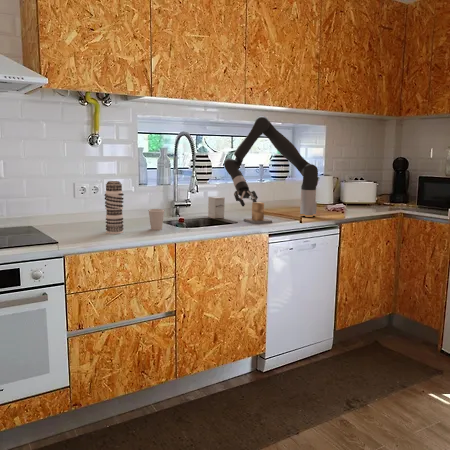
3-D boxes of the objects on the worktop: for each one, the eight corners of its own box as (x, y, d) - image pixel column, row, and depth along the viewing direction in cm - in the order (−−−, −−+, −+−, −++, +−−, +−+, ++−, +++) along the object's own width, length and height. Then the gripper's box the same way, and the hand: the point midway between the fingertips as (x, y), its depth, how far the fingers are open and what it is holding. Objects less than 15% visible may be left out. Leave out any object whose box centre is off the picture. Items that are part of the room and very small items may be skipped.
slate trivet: (260, 219, 280) (261, 217, 280) (272, 222, 269) (272, 220, 269) (243, 220, 274) (243, 218, 274) (254, 223, 264) (254, 221, 263)
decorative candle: (119, 230, 235) (118, 180, 232) (127, 232, 228) (126, 181, 224) (102, 231, 230) (101, 180, 226) (109, 234, 223) (108, 182, 219)
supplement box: (214, 218, 280) (214, 197, 278) (207, 217, 286) (208, 196, 284) (224, 217, 285) (224, 197, 283) (217, 216, 291) (217, 196, 289)
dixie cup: (145, 228, 240) (144, 209, 238) (157, 227, 246) (157, 208, 245) (155, 231, 234) (155, 211, 233) (168, 229, 241) (168, 209, 239)
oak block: (259, 218, 275) (259, 201, 273) (263, 220, 271) (264, 202, 269) (251, 219, 273) (252, 202, 271) (256, 220, 268) (256, 203, 267)
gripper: (232, 180, 280) (242, 201, 272) (252, 180, 287) (262, 201, 279) (228, 188, 285) (237, 209, 277) (248, 188, 292) (257, 208, 284)
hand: (250, 205), depth 278 cm, fingers open, 8 cm apart
